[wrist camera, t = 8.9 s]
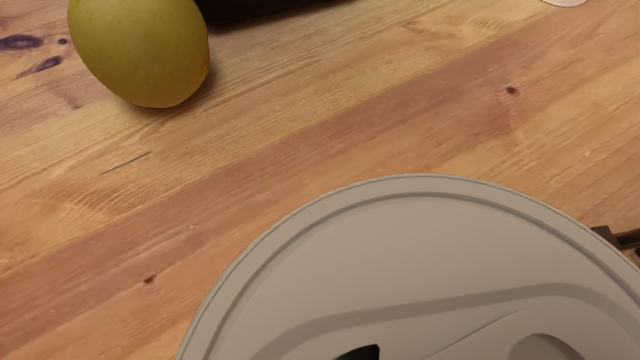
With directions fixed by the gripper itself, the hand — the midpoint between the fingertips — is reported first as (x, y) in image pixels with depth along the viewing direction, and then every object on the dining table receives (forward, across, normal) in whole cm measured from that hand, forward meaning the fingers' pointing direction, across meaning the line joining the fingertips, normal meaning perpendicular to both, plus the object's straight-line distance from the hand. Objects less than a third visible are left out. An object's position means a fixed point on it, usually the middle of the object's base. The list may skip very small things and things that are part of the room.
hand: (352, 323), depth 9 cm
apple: (+24, +8, -5) cm, 25 cm away
